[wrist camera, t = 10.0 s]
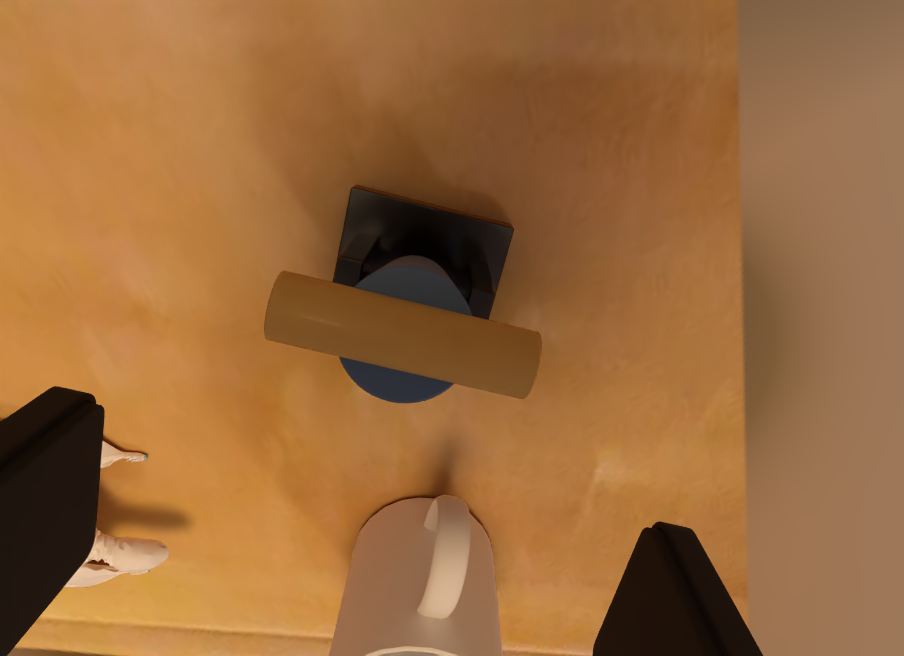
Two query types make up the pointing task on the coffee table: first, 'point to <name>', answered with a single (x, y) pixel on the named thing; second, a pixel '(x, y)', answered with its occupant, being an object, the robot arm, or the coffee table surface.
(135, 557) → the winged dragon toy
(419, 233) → the bracket
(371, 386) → the t-shaped handle
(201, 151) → the coffee table surface
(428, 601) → the mug
